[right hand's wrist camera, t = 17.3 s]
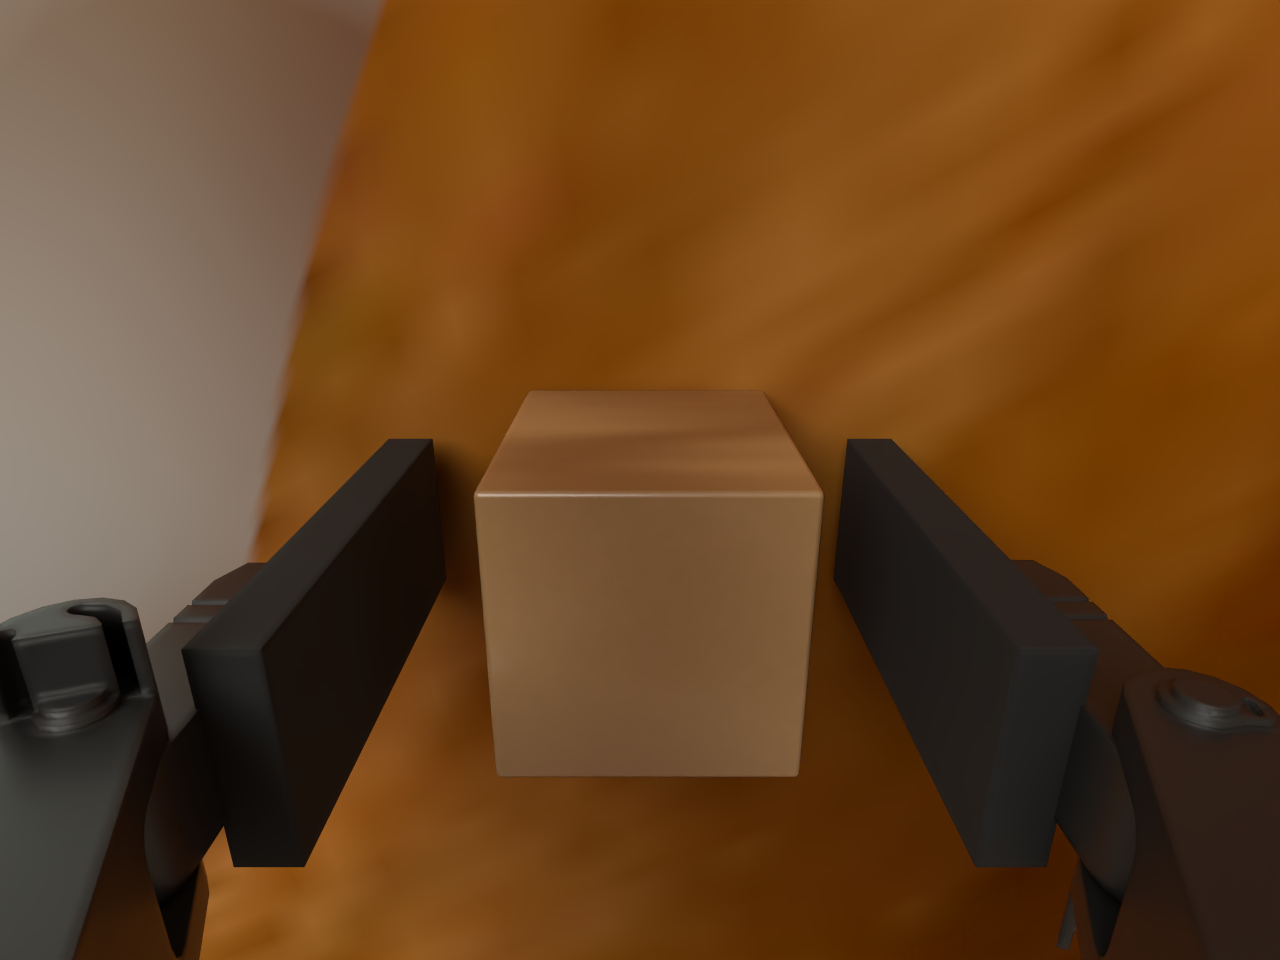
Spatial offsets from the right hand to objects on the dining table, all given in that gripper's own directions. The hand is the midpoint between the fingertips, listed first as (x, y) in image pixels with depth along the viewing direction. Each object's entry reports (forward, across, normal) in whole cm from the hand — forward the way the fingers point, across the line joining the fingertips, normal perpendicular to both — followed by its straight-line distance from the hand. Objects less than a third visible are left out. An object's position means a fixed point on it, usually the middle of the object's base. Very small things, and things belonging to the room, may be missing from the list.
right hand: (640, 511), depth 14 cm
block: (0, 0, 0) cm, 0 cm away
